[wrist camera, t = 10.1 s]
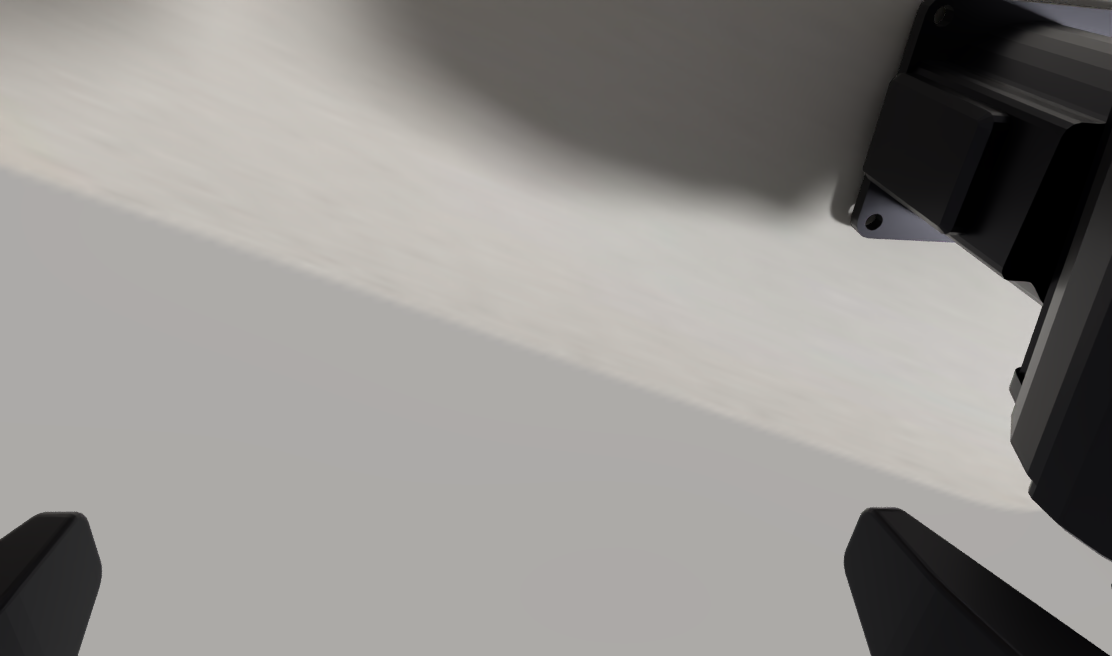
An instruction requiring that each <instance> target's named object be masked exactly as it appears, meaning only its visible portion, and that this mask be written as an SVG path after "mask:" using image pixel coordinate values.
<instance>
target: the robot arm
mask: <svg viewBox="0 0 1112 656" xmlns="http://www.w3.org/2000/svg"><path fill="white" fill-rule="evenodd" d="M942 6H944V7H945V15H944V17H943V18H942V20H941V21H940V22H938V23H937V24H935V22H934V15H935V13H936V12H937V10H938V9H939V8H940V7H942ZM863 171H864V173H865V176H864V179H863V182H862V185H861V188H860V191H859V194H858V197H857V200H856V204H855V207H854V210H853V213H852V216H851V224H852V227H853V228H854V229H855V230H856V231H857V232H858V233H859V234H860V235H862V236H863V237H866V238H874V239H895V240H915V241H936V242H955V243H957V244H958V245H959V246H961V247H962V248H963V249H965V250H966V251H967V252H969V253H970V254H971V255H973V256H974V257H976V258H977V259H978V260H980V261H981V262H982V263H984V264H985V265H986V266H988V267H989V268H990V269H992V270H993V271H994V272H996V273H997V274H998V275H1000V276H1001V277H1002V278H1004V279H1006V280H1008V281H1009V282H1010V283H1012V284H1013V285H1014V286H1016V287H1017V288H1019V289H1020V290H1021V291H1023V292H1024V293H1025V294H1027V295H1028V296H1029V297H1031V298H1032V299H1033V300H1035V301H1036V302H1037V303H1039V304H1040V305H1041V306H1042V309H1041V312H1040V315H1039V318H1038V321H1037V323H1036V326H1035V329H1034V332H1033V335H1032V338H1031V341H1030V344H1029V347H1028V349H1027V352H1026V355H1025V358H1024V361H1023V364H1022V367H1019V368H1017V369H1016V370H1015V372H1014V375H1013V378H1012V381H1011V384H1010V387H1009V390H1010V393H1011V395H1012V397H1013V399H1014V402H1015V406H1014V409H1013V412H1012V415H1011V439H1010V442H1011V444H1012V446H1013V448H1014V450H1015V452H1016V454H1017V456H1018V458H1019V460H1020V462H1021V464H1022V466H1023V467H1024V469H1025V471H1026V473H1027V475H1028V476H1029V477H1030V479H1031V480H1032V481H1031V484H1030V486H1029V491H1028V493H1029V495H1030V496H1031V498H1032V499H1033V500H1034V501H1035V502H1036V503H1037V504H1038V505H1039V506H1040V507H1041V508H1042V509H1043V510H1044V511H1045V512H1046V513H1047V514H1048V515H1049V516H1050V517H1051V518H1052V519H1053V520H1054V521H1055V522H1056V523H1058V524H1059V525H1060V526H1061V527H1062V528H1063V529H1064V530H1065V531H1067V532H1068V533H1069V534H1071V535H1072V536H1074V537H1075V538H1076V539H1078V540H1079V541H1081V542H1082V543H1084V544H1085V545H1086V546H1088V547H1089V548H1091V549H1092V550H1093V551H1095V552H1096V553H1098V554H1099V555H1101V556H1102V557H1104V558H1106V559H1108V560H1110V561H1111V562H1112V9H1106V8H1096V7H1086V6H1076V5H1066V4H1056V3H1046V2H1036V1H1026V0H924V1H923V2H922V3H921V5H920V7H919V9H918V11H917V14H916V17H915V20H914V23H913V26H912V29H911V32H910V35H909V39H908V42H907V45H906V48H905V51H904V54H903V57H902V60H901V63H900V67H899V70H898V73H897V76H896V77H895V78H894V79H893V80H892V81H891V82H890V85H889V88H888V91H887V94H886V97H885V100H884V103H883V107H882V110H881V113H880V116H879V119H878V122H877V125H876V129H875V132H874V135H873V138H872V141H871V144H870V147H869V151H868V154H867V157H866V160H865V163H864V166H863ZM873 214H876V218H875V220H874V221H873V222H872V223H870V224H867V225H865V224H866V220H867V219H868V217H870V216H871V215H873ZM844 569H845V574H846V577H847V580H848V583H849V587H850V590H851V593H852V596H853V599H854V603H855V606H856V609H857V612H858V615H859V619H860V622H861V625H862V628H863V631H864V635H865V638H866V641H867V644H868V647H869V650H870V654H871V656H1110V655H1108V654H1106V653H1105V652H1104V651H1102V650H1101V649H1100V648H1098V647H1097V646H1095V645H1094V644H1092V643H1091V642H1089V641H1088V640H1087V639H1085V638H1084V637H1082V636H1081V635H1080V634H1078V633H1077V632H1075V631H1074V630H1073V629H1071V628H1070V627H1068V626H1067V625H1065V624H1064V623H1063V622H1061V621H1060V620H1058V619H1057V618H1056V617H1054V616H1053V615H1051V614H1050V613H1048V612H1047V611H1046V610H1044V609H1043V608H1041V607H1040V606H1038V605H1037V604H1036V603H1034V602H1033V601H1031V600H1030V599H1029V598H1027V597H1026V596H1024V595H1023V594H1021V593H1019V591H1017V590H1016V589H1014V588H1013V587H1011V586H1010V585H1009V584H1007V583H1006V582H1004V581H1003V580H1002V579H1000V578H999V577H997V576H996V575H994V574H993V573H992V572H990V571H989V570H987V569H986V568H984V567H983V566H981V565H980V564H978V563H977V562H976V561H975V560H973V559H972V558H970V557H969V556H967V555H966V554H965V553H963V552H962V551H960V550H959V549H957V548H956V547H955V546H953V545H952V544H950V543H949V542H948V541H946V540H945V539H943V538H942V537H940V536H939V535H938V534H936V533H935V532H933V531H932V530H930V529H929V528H928V527H926V526H925V525H923V524H922V523H920V522H919V521H918V520H916V519H915V518H913V517H912V516H911V515H909V514H907V513H906V512H905V511H903V510H901V509H899V508H895V507H870V508H867V509H866V510H864V511H863V512H862V513H861V515H860V517H859V520H858V522H857V525H856V527H855V529H854V532H853V534H852V536H851V539H850V541H849V543H848V546H847V548H846V551H845V555H844ZM101 578H102V565H101V561H100V557H99V554H98V551H97V548H96V545H95V541H94V538H93V535H92V532H91V529H90V526H89V522H88V520H87V518H86V517H85V516H84V515H83V514H82V513H78V512H43V513H40V514H37V515H35V516H33V517H32V518H30V519H29V520H27V521H26V522H24V523H23V524H22V525H20V526H19V527H17V528H16V529H14V530H13V531H11V532H10V533H9V534H7V535H6V536H4V537H3V538H1V539H0V656H78V653H79V650H80V647H81V644H82V640H83V637H84V634H85V631H86V628H87V625H88V621H89V619H90V615H91V612H92V609H93V606H94V603H95V600H96V597H97V594H98V590H99V587H100V583H101ZM1111 587H1112V584H1111Z"/></svg>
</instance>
